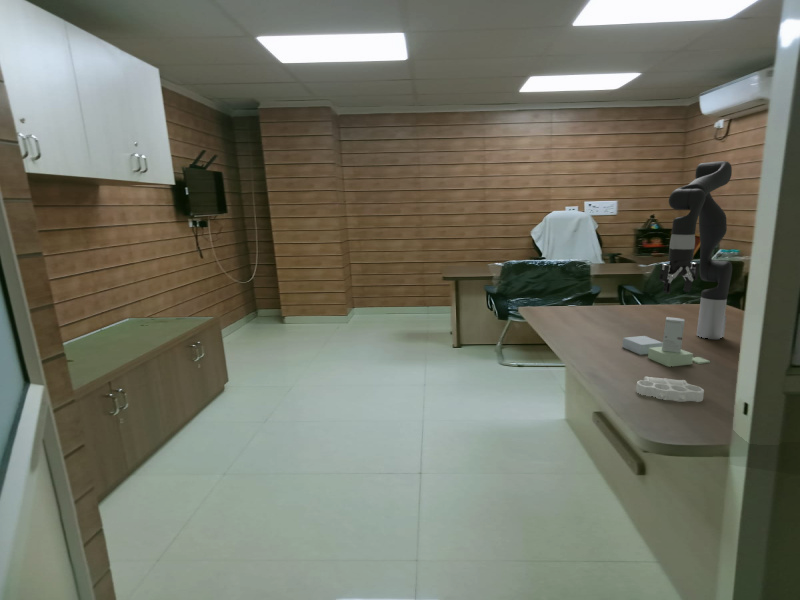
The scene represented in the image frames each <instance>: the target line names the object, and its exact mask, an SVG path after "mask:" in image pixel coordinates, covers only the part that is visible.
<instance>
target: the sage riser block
mask: <svg viewBox="0 0 800 600" xmlns="http://www.w3.org/2000/svg"><path fill="white" fill-rule="evenodd" d="M693 357H694V353H692V352H689V351H686V350H684V349H682V348H681V351H680V353H675V352H668V351H662V347H653V348H649V353H648V354H647V358H648V359H649V360H652V361H653V362H656V363H659V364H661V365H663V366H666V367H669V368H672V367H678V366H687V365H689V366H690V365H693V362H692V359H693ZM671 366H672V367H671Z"/></svg>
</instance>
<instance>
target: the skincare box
mask: <svg viewBox="0 0 800 600" xmlns="http://www.w3.org/2000/svg"><path fill="white" fill-rule="evenodd" d="M685 323H686V322H685V318H679V317H669V316H666V317H665V324H664V331H663V338H662V342H663V345H662V351H668V352H675V353H680V351H681V349H682V345H683V344H682V343H683V337H684V329H685Z"/></svg>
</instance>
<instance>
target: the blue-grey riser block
mask: <svg viewBox="0 0 800 600" xmlns="http://www.w3.org/2000/svg"><path fill="white" fill-rule="evenodd" d="M662 345H663V341H659V340H657V339H655V338H652V337H649V336H647V335H639V336H638V335H637V336H629V337H627V336H626V337H622V348H624V349H626V350H628V351H631V352H633V353H635V354H637V355H640V356H642V355H648V353H649V348H653V347H662Z"/></svg>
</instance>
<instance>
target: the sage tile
mask: <svg viewBox="0 0 800 600" xmlns="http://www.w3.org/2000/svg"><path fill="white" fill-rule="evenodd" d="M692 363H695V364H698V365H704V364H710V363H711V361H710V360H708V359H705V358H704V357H700V356H696V357H694V356H693V359H692Z"/></svg>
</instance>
